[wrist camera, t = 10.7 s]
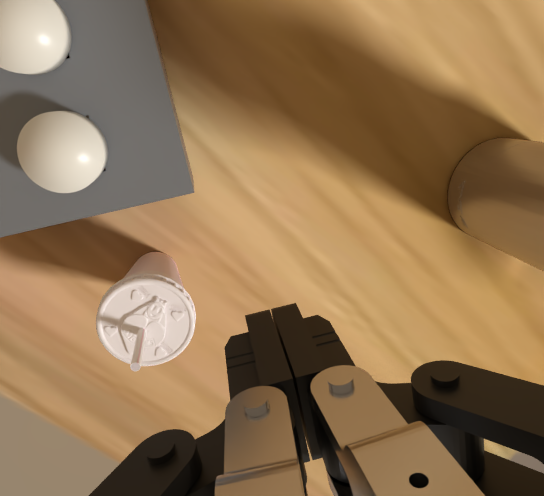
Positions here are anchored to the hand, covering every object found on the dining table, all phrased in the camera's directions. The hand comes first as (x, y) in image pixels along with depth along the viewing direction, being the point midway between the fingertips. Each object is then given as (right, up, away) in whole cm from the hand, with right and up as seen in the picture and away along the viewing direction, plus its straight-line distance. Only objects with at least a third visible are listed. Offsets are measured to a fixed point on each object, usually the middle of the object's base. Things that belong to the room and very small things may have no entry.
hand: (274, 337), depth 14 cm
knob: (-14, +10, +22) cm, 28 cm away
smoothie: (-10, +1, +26) cm, 28 cm away
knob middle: (-15, +17, +19) cm, 30 cm away
